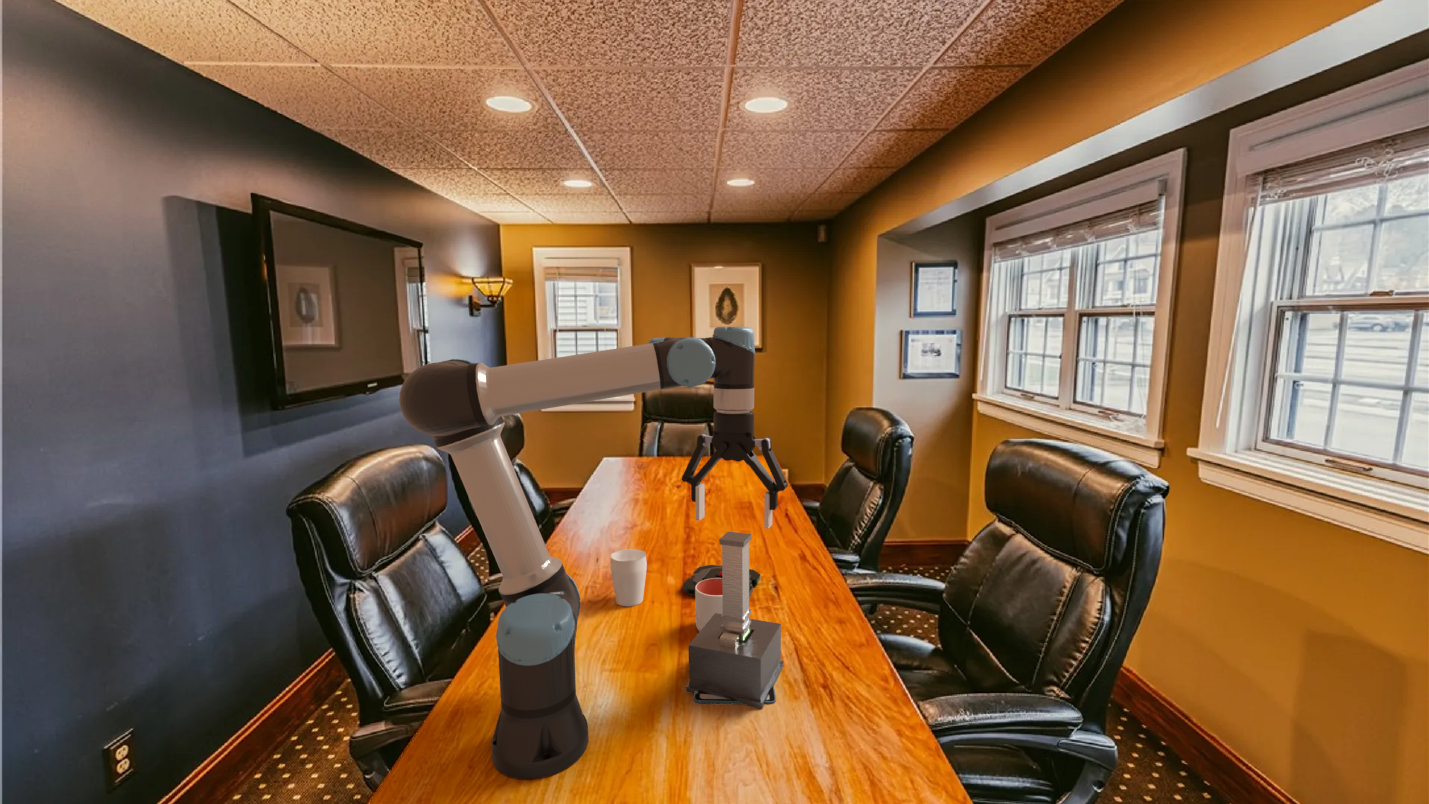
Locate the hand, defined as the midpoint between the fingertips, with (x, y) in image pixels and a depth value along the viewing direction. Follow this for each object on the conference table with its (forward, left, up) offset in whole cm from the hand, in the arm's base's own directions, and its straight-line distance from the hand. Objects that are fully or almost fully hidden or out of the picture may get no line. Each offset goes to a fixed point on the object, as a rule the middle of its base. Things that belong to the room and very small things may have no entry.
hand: (733, 522), depth 114 cm
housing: (0, 0, -31) cm, 31 cm away
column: (0, 0, -24) cm, 24 cm away
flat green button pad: (+40, +17, -32) cm, 54 cm away
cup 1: (+24, +36, -31) cm, 53 cm away
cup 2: (+18, +10, -31) cm, 37 cm away
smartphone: (-4, -1, -32) cm, 32 cm away
